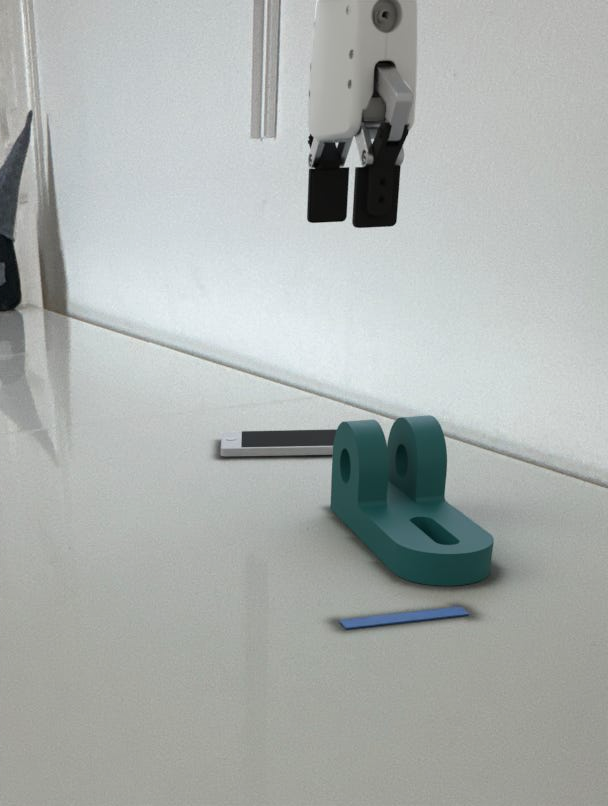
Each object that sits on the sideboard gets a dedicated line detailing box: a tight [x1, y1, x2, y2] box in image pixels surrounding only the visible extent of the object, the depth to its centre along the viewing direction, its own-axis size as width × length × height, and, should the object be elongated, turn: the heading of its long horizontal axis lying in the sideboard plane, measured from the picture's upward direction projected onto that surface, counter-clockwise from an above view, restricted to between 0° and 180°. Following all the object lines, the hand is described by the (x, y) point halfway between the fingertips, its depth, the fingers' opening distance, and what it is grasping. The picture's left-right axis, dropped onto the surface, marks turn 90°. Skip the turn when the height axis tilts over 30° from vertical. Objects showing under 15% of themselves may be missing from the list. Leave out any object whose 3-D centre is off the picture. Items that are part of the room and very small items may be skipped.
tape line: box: [338, 605, 470, 630], centre depth 62 cm, size 8×1×1 cm, turn 99°
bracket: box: [329, 415, 495, 587], centre depth 73 cm, size 18×7×8 cm, turn 6°
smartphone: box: [220, 428, 337, 457], centre depth 100 cm, size 7×16×1 cm, turn 84°
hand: (349, 224), depth 77 cm, fingers open, 9 cm apart
